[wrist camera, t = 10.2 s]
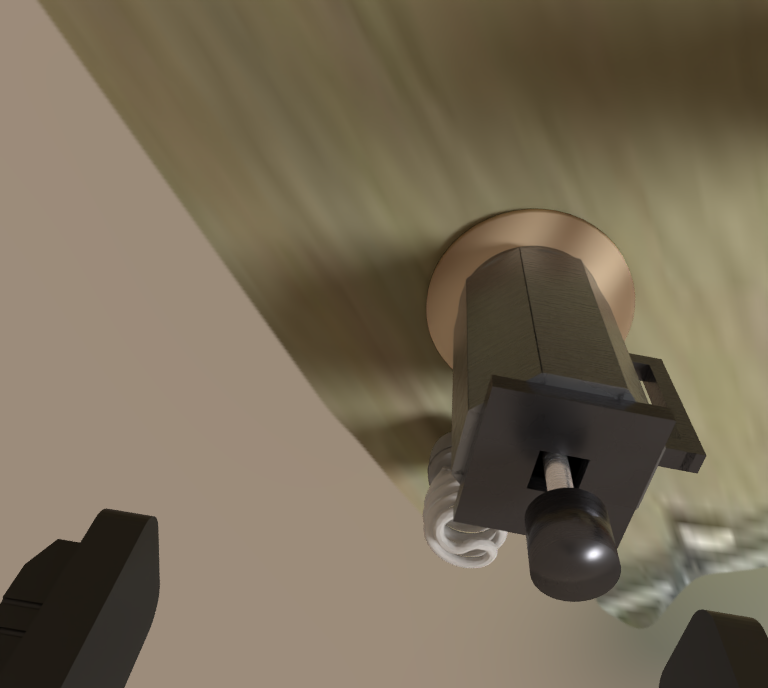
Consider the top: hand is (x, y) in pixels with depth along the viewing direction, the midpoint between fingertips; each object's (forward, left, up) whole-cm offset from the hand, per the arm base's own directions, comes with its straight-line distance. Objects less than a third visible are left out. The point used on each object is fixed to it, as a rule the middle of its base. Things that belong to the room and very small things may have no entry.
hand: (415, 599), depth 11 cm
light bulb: (-6, +25, -38) cm, 46 cm away
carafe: (-10, +13, -37) cm, 40 cm away
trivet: (-8, +13, -38) cm, 41 cm away
